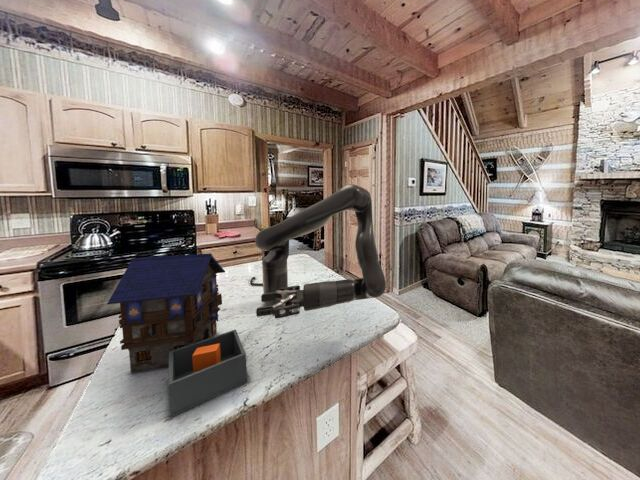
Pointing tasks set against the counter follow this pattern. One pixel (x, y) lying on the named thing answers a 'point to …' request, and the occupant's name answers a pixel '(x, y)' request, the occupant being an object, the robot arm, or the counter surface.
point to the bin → (205, 373)
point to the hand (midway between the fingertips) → (259, 304)
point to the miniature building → (166, 306)
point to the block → (206, 357)
